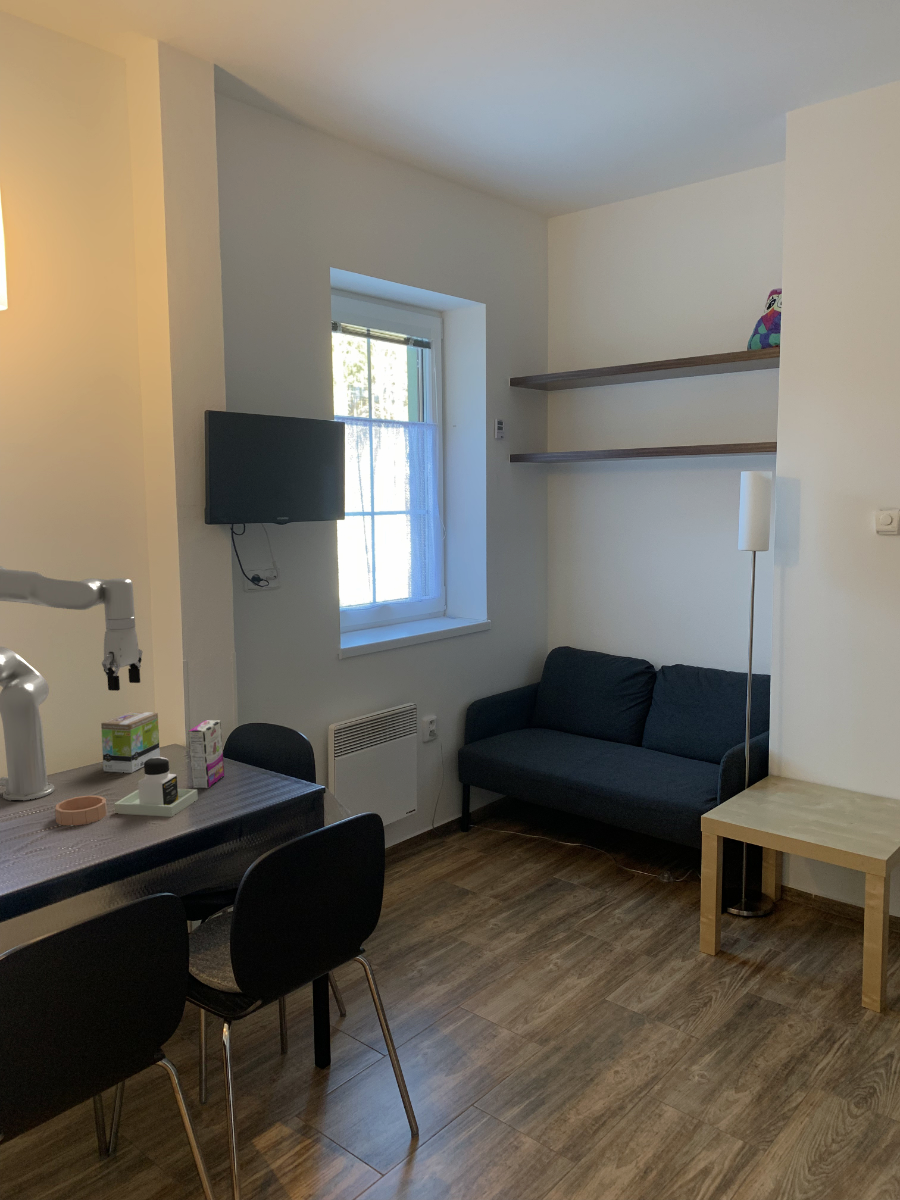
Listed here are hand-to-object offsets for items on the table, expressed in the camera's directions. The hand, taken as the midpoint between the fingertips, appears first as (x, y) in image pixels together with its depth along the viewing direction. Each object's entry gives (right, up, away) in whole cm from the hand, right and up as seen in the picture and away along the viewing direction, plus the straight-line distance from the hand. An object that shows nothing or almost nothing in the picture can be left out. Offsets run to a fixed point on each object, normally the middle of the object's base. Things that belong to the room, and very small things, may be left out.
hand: (124, 686), depth 247 cm
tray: (+13, -30, -14) cm, 35 cm away
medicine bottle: (+14, -29, -14) cm, 35 cm away
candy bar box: (+22, -27, +5) cm, 35 cm away
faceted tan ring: (-4, -31, -20) cm, 37 cm away
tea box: (-6, -26, +23) cm, 36 cm away
